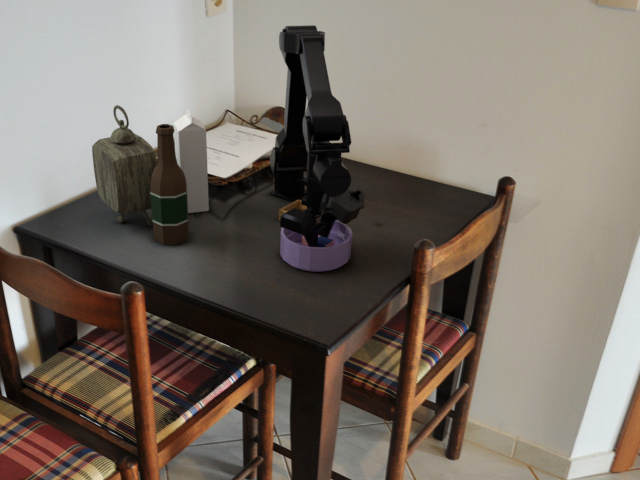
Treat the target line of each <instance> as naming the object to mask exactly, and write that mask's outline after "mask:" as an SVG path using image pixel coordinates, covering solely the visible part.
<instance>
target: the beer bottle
mask: <svg viewBox="0 0 640 480" xmlns="http://www.w3.org/2000/svg"><path fill="white" fill-rule="evenodd" d="M155 133H156V134H157V136H156V139H157V143H156V144H157V166H156V167H155V169H154V171H153V174H152V178H151V183H150V193H151V206H152V209H151V215H152V216H151V219H153V226H152V228H153V237H154V238H153V239H154V240H155V242H158V243H160V244H161V245H163V246H178V245H181V244H182V243H185V242H187V241H188V240H189V235H190V234H189V232H190V230H189V229H190V227H189V226H190V225H189V224H190V223H189V222H190V221H189V213H188V201H187V184H186V177H185V175H184V173H183V170H182V169H181V168H180V167H179V165H178V164H177V160H176V154H175V140H174V125H171V124H169V123H161V124H158V125H156V129H155Z"/></svg>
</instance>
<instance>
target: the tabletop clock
mask: <svg viewBox="0 0 640 480" xmlns="http://www.w3.org/2000/svg"><path fill="white" fill-rule="evenodd" d="M117 110H119V111H120V112H121V113H122V114H123V116H124V118H125V120H123V119H119V118H118V117H117ZM112 112H113V117H114V120H115V123H116V124H117V126H119V127H117V128H116V129H114V130H113V131H111V134H110V137H104V138H100V139H98V140H96V142H94V143H93V144H92V145H91V153H92V154H91V155H92V163H93V164H92V165H93V172H94V179H95V185H96V190H97V195H98V196H99V197H100V199H101V200H102V201H103V202H104V203H105V204H106V205H107V206H108V207H109V208H110V209H111V210H113V211H114V212H115V213H119V215H118V216H117V222H118V223H124V222H125V219H126V218H125V215H130V214H131V215H132V214H136V213H141V214H142V216H144V218H146V220H147V225H148V226H149V227H153V219H152V218H150V216H149V214H148V213H147V210H152V206H151V193H150V183H151V178H152V174H153V171H154V169H155V167H156V166H157V161H158V157H157V155H156V151H155V149H154V148H153V146H152V145H151V144H150V143H149V142H148V141H147V140H146V139H144V137H142V136H141V135H139V134H136V133H135V132H134V131H133V130H131V128H129V125H130V121H129V117H128V113H127V112H126V110H125V109H124V107H122V106H120V105H118V104H115V106H114V107H113V111H112ZM125 121H126V124H125Z"/></svg>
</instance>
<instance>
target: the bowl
mask: <svg viewBox="0 0 640 480" xmlns="http://www.w3.org/2000/svg"><path fill="white" fill-rule="evenodd" d="M302 237H304V235H302V234H299V233H296V232H293V231H291V230H288V229H285V228H282V227H280V244H279V245H280V247H279V255H280V257H281V258H282V261H284V262H285V263H287V264H288V265H290V266H291V267H293V268H296V269H298V270H301V271H306V272H318V273H320V272H329V271H333V270H336V269H339V268H341V267H343V266H344V265H346V264H347V263H348V262H349V261H350V259H351V257H352V256H351V255H352V241H353V231H352V228H351V227H350V226H348V224H344V223H341V222H340V221H339V219H337V220H336V221H335V223H334V225H333V227H332V229H331V232H330V234H329V237H328V238H329V239H331V240H334V241H335V244H334V246H329V247H309V246H304V245H302Z"/></svg>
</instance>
